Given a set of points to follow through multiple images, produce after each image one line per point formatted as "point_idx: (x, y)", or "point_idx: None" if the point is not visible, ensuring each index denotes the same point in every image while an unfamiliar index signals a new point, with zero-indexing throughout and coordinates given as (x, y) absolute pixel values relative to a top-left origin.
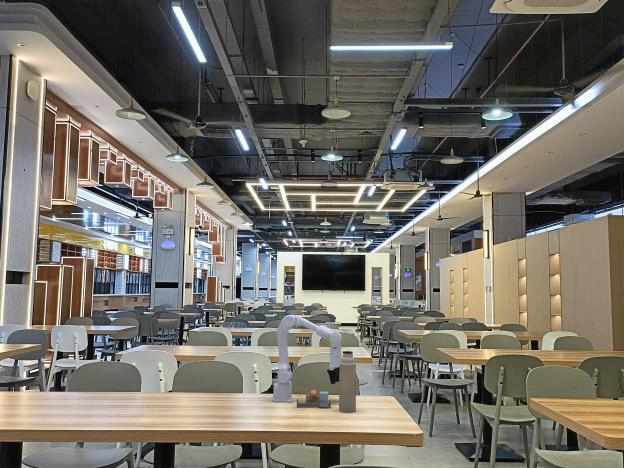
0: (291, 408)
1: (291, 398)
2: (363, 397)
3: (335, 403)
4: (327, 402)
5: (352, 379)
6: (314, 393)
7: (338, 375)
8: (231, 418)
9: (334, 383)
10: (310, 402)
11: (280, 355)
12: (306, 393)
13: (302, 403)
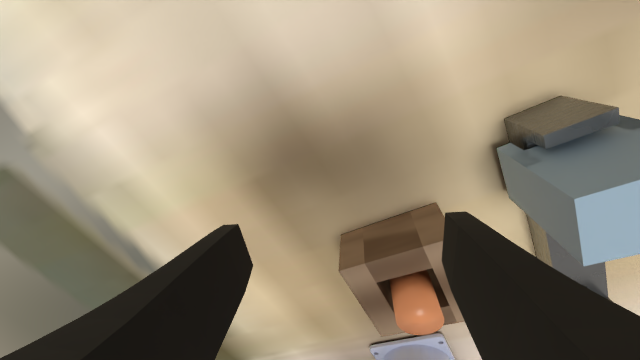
0: (625, 294)
1: (406, 350)
2: (30, 46)
3: (361, 137)
4: (631, 124)
5: None
6: (434, 296)
7: (182, 316)
8: None
9: (474, 221)
10: (561, 250)
11: None
12: (394, 331)
13: (604, 278)
